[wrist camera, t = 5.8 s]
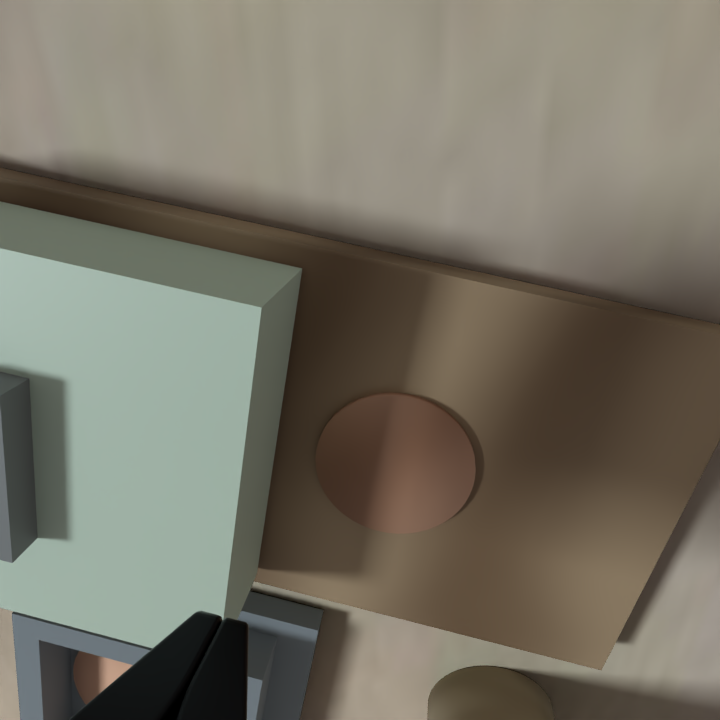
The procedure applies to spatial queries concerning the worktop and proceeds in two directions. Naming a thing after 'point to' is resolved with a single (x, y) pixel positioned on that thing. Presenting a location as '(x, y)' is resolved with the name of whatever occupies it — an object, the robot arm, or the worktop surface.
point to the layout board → (461, 434)
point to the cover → (134, 422)
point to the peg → (488, 696)
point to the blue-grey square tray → (114, 656)
